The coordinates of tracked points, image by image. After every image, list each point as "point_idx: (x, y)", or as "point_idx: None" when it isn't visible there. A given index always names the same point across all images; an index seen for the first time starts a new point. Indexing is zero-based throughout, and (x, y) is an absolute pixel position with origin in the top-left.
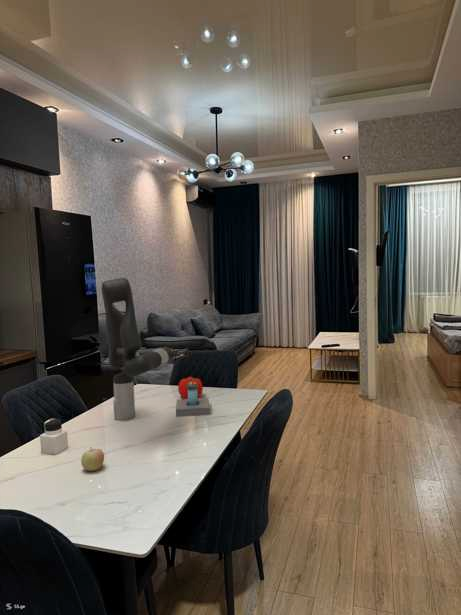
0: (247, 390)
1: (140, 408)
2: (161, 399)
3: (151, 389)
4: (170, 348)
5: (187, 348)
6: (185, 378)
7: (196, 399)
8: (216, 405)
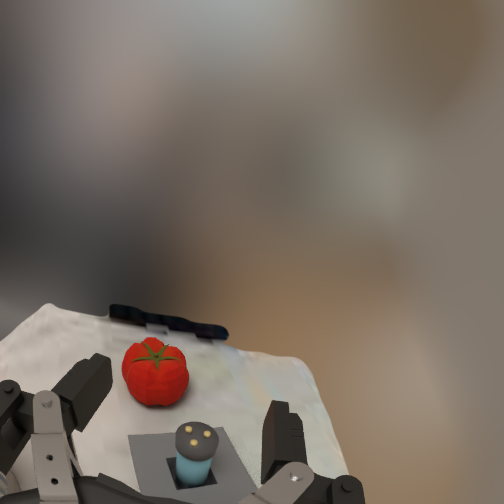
0: (274, 359)
1: None
2: None
3: (60, 329)
4: (99, 370)
5: (288, 405)
6: (140, 343)
7: (208, 470)
8: (245, 444)
